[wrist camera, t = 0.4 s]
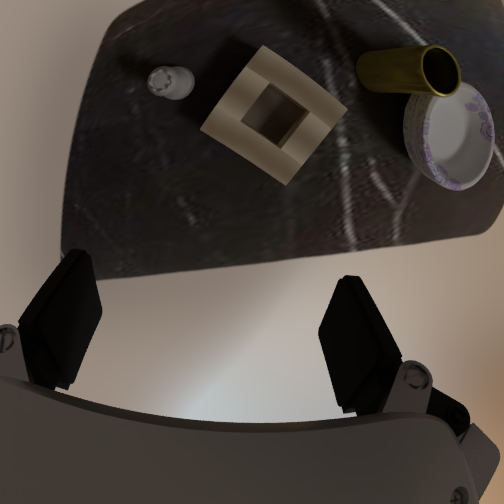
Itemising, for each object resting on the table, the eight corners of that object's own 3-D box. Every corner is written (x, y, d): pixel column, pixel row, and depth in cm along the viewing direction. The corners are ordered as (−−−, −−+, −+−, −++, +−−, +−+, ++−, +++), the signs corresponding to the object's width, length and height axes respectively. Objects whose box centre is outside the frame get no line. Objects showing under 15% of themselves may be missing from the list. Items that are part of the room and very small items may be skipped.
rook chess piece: (162, 66, 27) (141, 60, 20) (197, 67, 28) (185, 59, 21) (158, 99, 30) (136, 101, 23) (192, 100, 30) (179, 102, 23)
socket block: (260, 50, 27) (262, 45, 23) (336, 107, 31) (347, 109, 28) (204, 125, 32) (199, 129, 28) (281, 176, 36) (285, 185, 32)
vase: (346, 70, 28) (405, 64, 16) (371, 42, 26) (436, 28, 14) (379, 101, 30) (445, 114, 18) (402, 73, 28) (472, 77, 16)
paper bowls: (475, 120, 30) (507, 131, 23) (436, 190, 37) (465, 210, 30) (417, 57, 26) (452, 56, 19) (372, 137, 33) (401, 150, 26)
